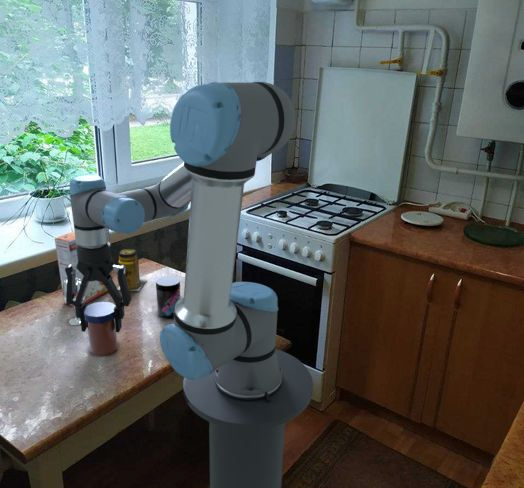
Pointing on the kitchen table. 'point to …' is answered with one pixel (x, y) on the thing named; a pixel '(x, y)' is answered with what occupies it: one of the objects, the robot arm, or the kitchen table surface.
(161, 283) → the supplement container
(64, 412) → the kitchen table surface
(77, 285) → the wineglass
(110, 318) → the lid
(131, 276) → the condiment
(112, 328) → the jar
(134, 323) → the kitchen table surface
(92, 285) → the cracker box
